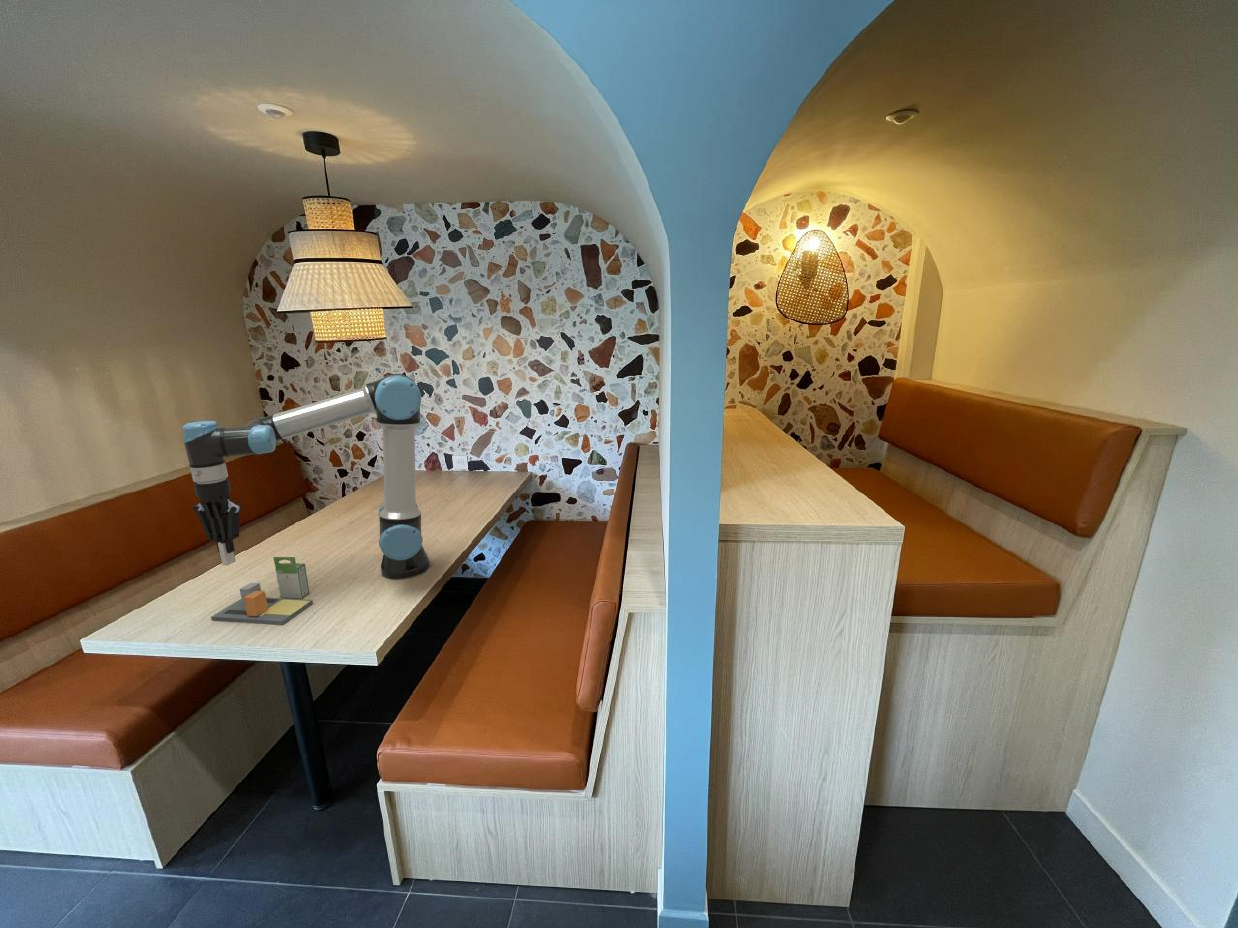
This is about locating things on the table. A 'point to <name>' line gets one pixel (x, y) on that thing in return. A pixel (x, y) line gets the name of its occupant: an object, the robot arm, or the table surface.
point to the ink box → (291, 578)
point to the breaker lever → (255, 603)
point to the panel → (239, 614)
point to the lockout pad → (285, 607)
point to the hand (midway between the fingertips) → (229, 563)
